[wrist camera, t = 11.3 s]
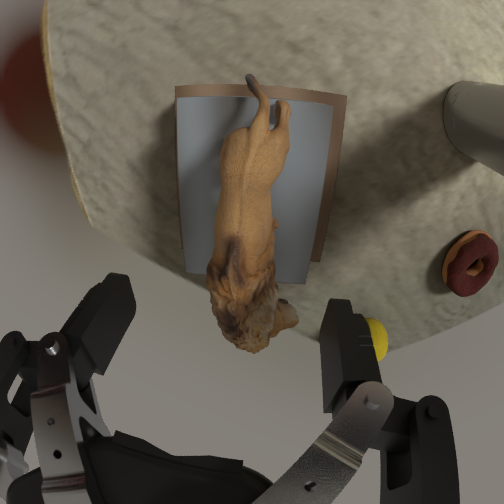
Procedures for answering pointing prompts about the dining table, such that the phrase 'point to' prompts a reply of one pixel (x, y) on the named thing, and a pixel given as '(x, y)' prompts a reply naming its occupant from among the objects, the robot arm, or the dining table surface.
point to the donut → (463, 256)
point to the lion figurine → (250, 230)
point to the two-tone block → (286, 185)
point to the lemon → (378, 337)
